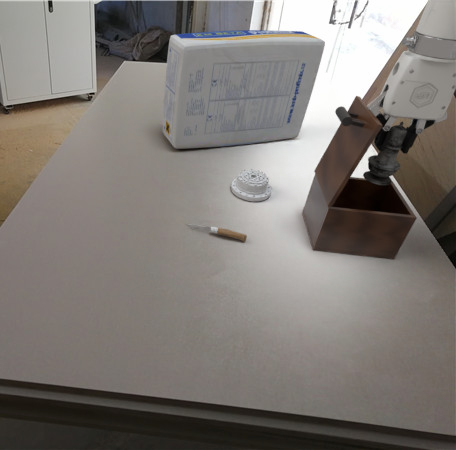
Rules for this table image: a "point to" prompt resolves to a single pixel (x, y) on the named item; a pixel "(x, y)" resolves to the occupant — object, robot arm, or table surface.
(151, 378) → the table surface
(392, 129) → the dark grey chess piece
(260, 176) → the mechanical component
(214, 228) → the folding knife
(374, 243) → the chest
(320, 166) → the lid
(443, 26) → the robot arm
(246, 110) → the construction material bag
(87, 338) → the table surface
